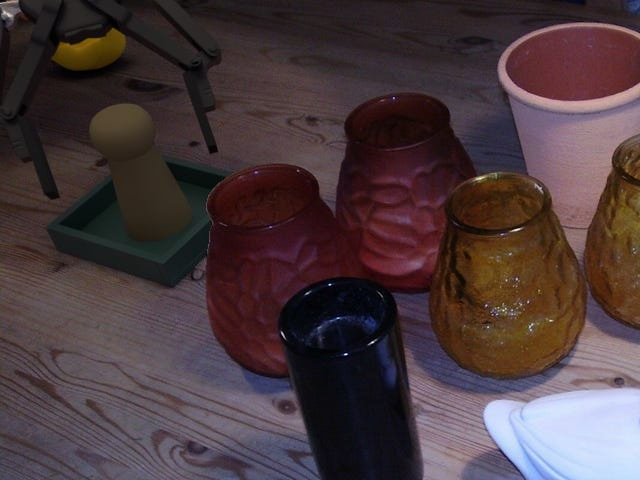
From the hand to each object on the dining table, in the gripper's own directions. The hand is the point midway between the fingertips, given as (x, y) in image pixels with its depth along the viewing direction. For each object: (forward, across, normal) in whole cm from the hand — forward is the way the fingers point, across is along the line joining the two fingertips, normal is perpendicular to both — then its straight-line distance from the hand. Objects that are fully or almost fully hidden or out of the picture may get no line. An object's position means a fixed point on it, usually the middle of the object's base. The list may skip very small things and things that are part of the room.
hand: (134, 172), depth 84 cm
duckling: (-20, -3, +30) cm, 37 cm away
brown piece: (+4, 0, +6) cm, 7 cm away
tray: (+4, 0, +6) cm, 7 cm away
